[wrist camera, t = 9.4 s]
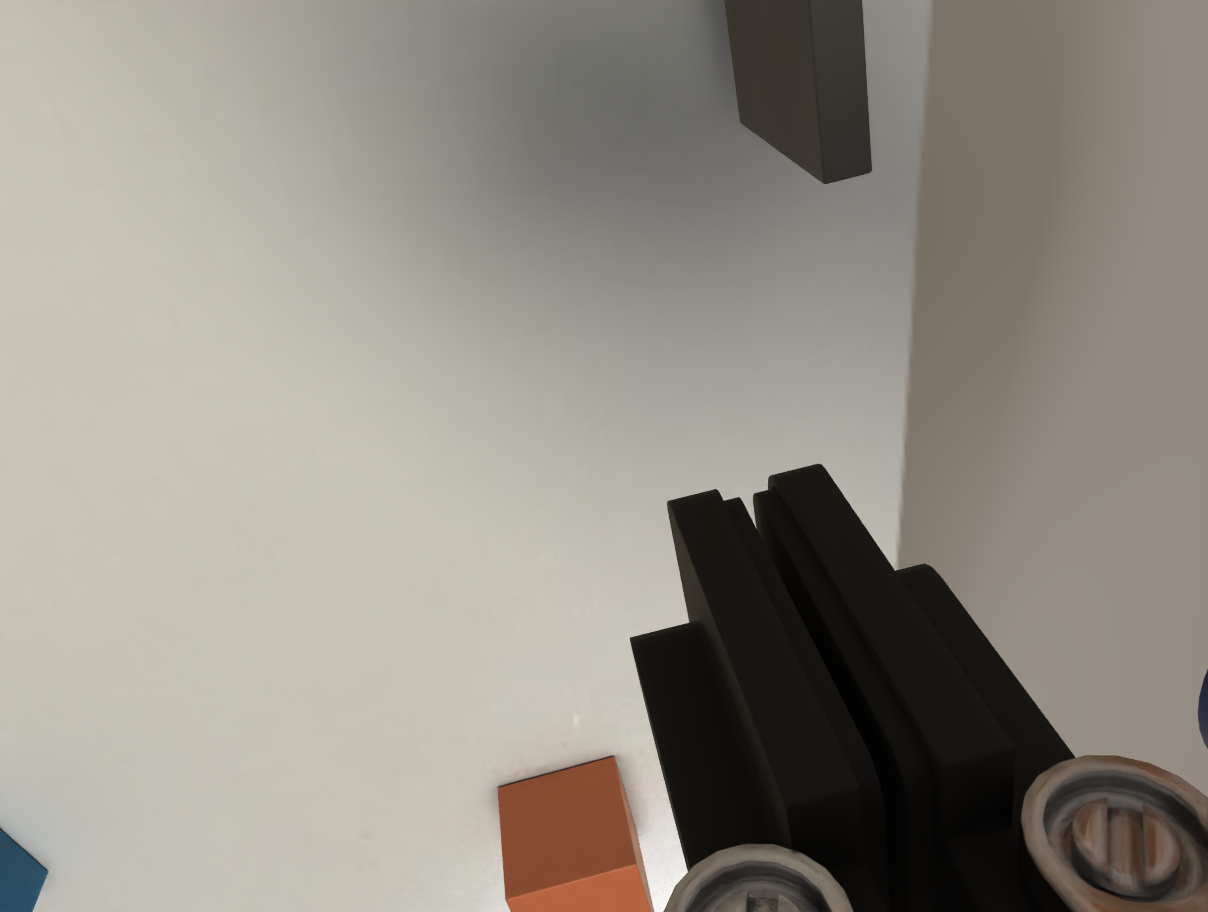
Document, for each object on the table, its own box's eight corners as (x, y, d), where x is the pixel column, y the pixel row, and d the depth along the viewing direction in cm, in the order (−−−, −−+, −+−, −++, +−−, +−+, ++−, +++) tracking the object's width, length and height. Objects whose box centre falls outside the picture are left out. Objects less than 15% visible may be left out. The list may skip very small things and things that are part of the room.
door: (754, -213, 22) (914, -269, 15) (785, 89, 26) (926, 166, 18) (384, -122, 22) (359, -133, 14) (467, 170, 25) (480, 281, 18)
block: (614, 755, 38) (636, 864, 34) (636, 830, 40) (660, 940, 36) (497, 787, 38) (505, 900, 33) (526, 860, 40) (537, 974, 36)
